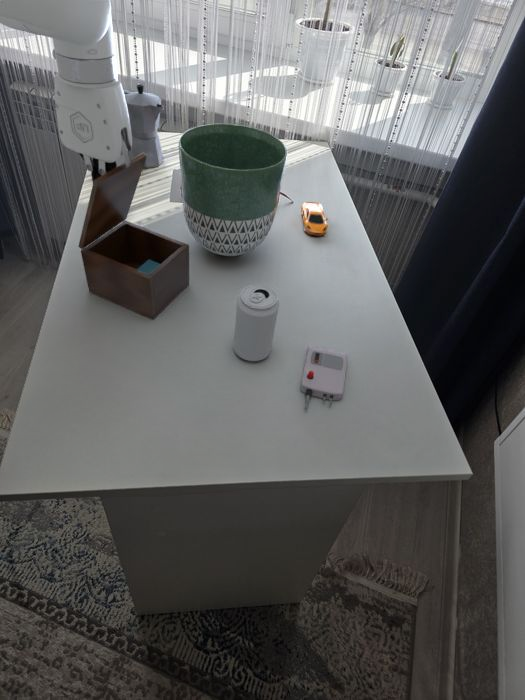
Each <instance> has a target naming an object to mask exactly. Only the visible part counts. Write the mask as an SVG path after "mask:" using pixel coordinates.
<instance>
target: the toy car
mask: <svg viewBox="0 0 525 700" xmlns="http://www.w3.org/2000/svg"><path fill="white" fill-rule="evenodd" d="M301 216H302V220H303V221H302V222H303V227H304V232H306V233H307V234H308V235H311V236H317V237H322V236H325V234H326V233H327V231H328V227H329V226H328V223H327V221H328V220H329V218H328V217H326V218H325V212H324V207H323V205H322V204H321V203H319V202H314V201H313V202H312V201H305V202H303V203H302V205H301Z"/></svg>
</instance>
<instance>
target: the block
mask: <svg viewBox="0 0 525 700" xmlns="http://www.w3.org/2000/svg"><path fill="white" fill-rule="evenodd" d="M159 265H160V264H159V263H157V262H154V261H152V260H147V261H146V262H145V263H144V264H143V265H141V266H140V267H139V268H138V269H136V270H138V271H141V272H143V273H146V274H148V275H149V274H150V273H151V272H152V271H153V270H155V269H156V268H157V267H158V266H159Z"/></svg>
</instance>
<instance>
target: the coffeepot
mask: <svg viewBox="0 0 525 700" xmlns="http://www.w3.org/2000/svg"><path fill="white" fill-rule="evenodd" d="M144 88H145V86H144V85H143V84H137V85H136V90H137V91H133V92H131V91H130V90H128V89H123V92H124V96H125V100H126V104H127V109H128V114H129V120H130V126H131V135H132V151H131V153H129V156H130V160H131V159H133V158H134V157H136V156H138V155H140V154H142V153H145V154H146V155H147V158H146V161H145V164H144V167H143V169H151V168H156V167H158V166H160V165H162V163H163V161H164V155H163V149H162V146H161V145H162V144H161V141H160V137H159V135H158V129H159V127H160V120H161V119H160V118H161V112H162V111H164V110H165V107H164V105H163V104H162V99H161V98H160V97H159V96H158V95H157V94H155V93H150V92H145V91H144Z"/></svg>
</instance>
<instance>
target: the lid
mask: <svg viewBox="0 0 525 700" xmlns="http://www.w3.org/2000/svg"><path fill="white" fill-rule="evenodd" d="M146 158H147V155H146V154H145V153H142V154H140V155H138V156H136V157H134V158H133V159H131V166H129V167H127V168H125V169H124V168H118V167H117V168H115V169H113V170H111V171H109V172H108V173H106V174H104V175H102V176H101V177H99V178H97V179H95V180H94V182H92V186H91V190H90V195H89V199H88V204H87V208H86V212H85V216H84V220H83V225H82V228H81V229H82V230H81V234H80V239H79V242H78V246H77V247H78V248H79V249H81V250H82V249H84V248H85V247H87V246H88V245H90V244H91V243H93V242H94V241H96V240H97V239H98V238H100V237H101V236H103V235H104V234H106V233H107V232H109V231H110V230H111V229H113V228H114V227H116V226H117V225H119V224H120V223H122V222H123V221H124V220H126V221H127V218H128V215H129V213H130V208H131V205H132V203H133V200H134V197H135V194H136V190H137V187H138V185H139V183H140V182H139V181H140V179H141V176H142V172H143V169H144V168H143V167H144V164H145V161H146Z"/></svg>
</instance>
